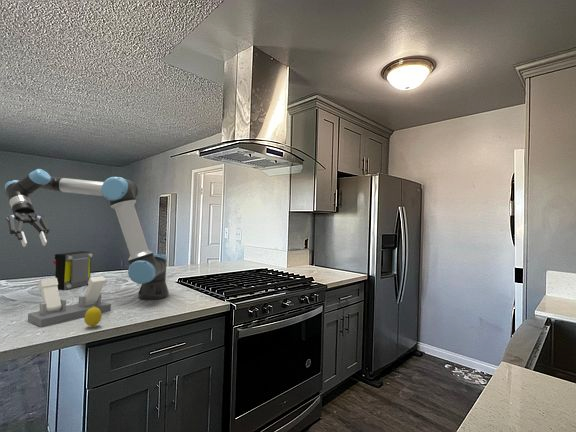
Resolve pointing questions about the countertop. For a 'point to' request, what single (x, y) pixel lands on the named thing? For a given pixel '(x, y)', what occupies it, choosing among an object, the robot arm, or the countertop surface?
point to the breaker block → (65, 312)
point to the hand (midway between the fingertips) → (35, 244)
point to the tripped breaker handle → (50, 294)
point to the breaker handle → (94, 289)
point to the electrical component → (73, 269)
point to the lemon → (93, 316)
